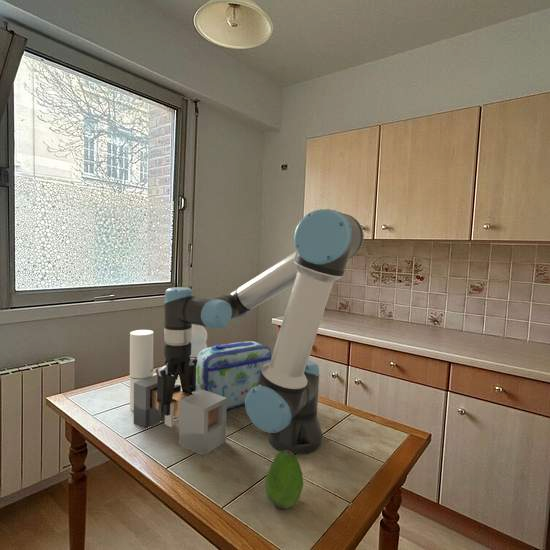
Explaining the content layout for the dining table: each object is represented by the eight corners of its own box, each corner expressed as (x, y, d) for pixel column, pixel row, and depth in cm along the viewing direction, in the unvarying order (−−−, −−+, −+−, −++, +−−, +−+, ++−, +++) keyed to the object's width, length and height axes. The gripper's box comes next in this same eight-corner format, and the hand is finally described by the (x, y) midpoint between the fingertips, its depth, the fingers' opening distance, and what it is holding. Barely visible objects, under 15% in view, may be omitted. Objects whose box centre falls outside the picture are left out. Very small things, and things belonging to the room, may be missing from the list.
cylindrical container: (156, 403, 126) (157, 330, 123) (147, 412, 118) (147, 335, 116) (136, 401, 126) (136, 329, 124) (125, 410, 119) (125, 334, 117)
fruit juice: (179, 380, 146) (180, 310, 144) (203, 377, 150) (204, 309, 148) (184, 389, 138) (185, 315, 135) (209, 386, 141) (211, 314, 139)
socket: (169, 417, 116) (169, 378, 115) (145, 429, 108) (145, 387, 107) (157, 412, 119) (157, 374, 118) (133, 423, 111) (133, 382, 110)
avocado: (294, 522, 74) (297, 465, 73) (259, 510, 77) (261, 455, 76) (306, 497, 82) (309, 445, 81) (273, 487, 85) (275, 437, 84)
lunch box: (204, 418, 116) (205, 352, 115) (192, 404, 125) (193, 344, 123) (274, 401, 131) (276, 343, 129) (258, 390, 140) (260, 335, 138)
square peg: (219, 423, 103) (220, 398, 102) (200, 434, 97) (201, 408, 96) (167, 403, 114) (168, 381, 114) (148, 412, 108) (148, 388, 108)
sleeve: (225, 441, 103) (226, 397, 102) (203, 456, 96) (204, 409, 95) (202, 431, 108) (202, 389, 107) (178, 444, 101) (179, 399, 100)
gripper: (191, 333, 115) (190, 406, 117) (142, 346, 100) (142, 429, 102) (209, 338, 111) (208, 413, 113) (161, 351, 96) (160, 438, 98)
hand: (176, 420), depth 107 cm, fingers closed on square peg, 5 cm apart
